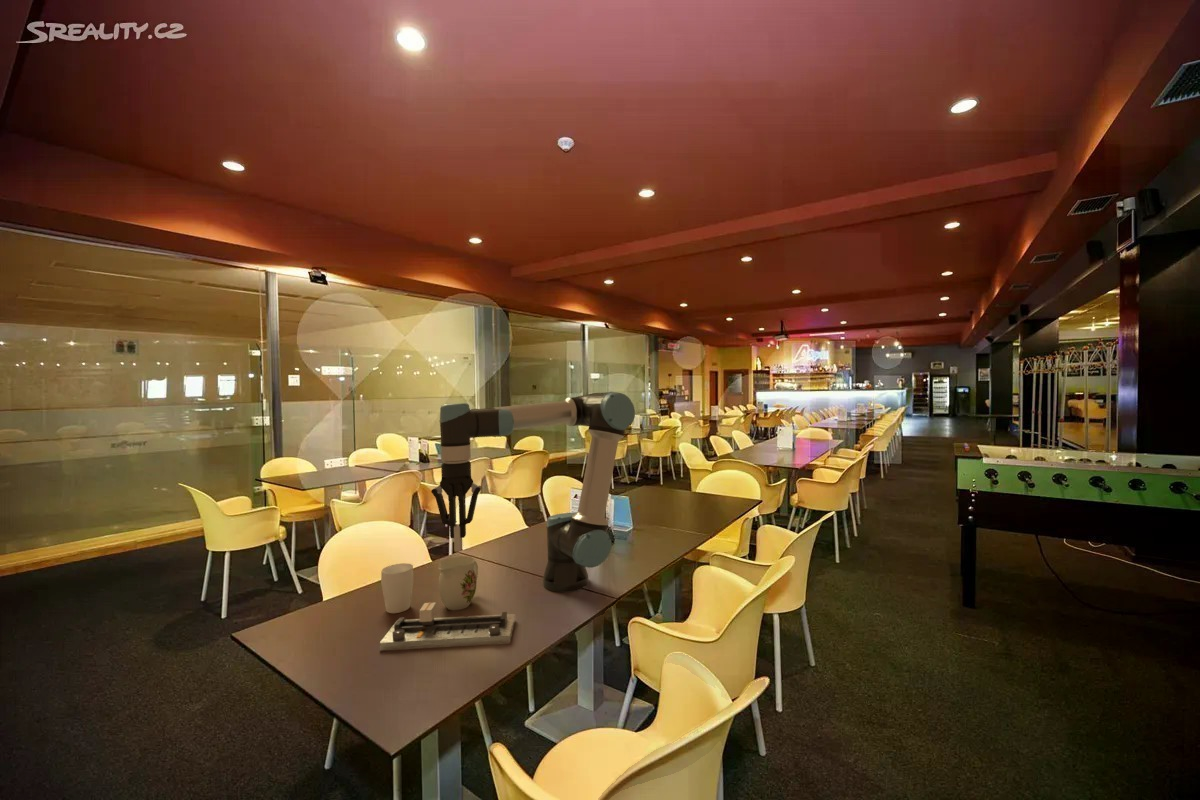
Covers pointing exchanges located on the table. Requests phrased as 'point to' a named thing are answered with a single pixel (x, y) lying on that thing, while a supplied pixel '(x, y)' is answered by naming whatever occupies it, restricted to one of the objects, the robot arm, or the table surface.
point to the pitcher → (457, 581)
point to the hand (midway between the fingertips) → (458, 549)
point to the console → (449, 632)
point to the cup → (397, 587)
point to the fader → (428, 613)
